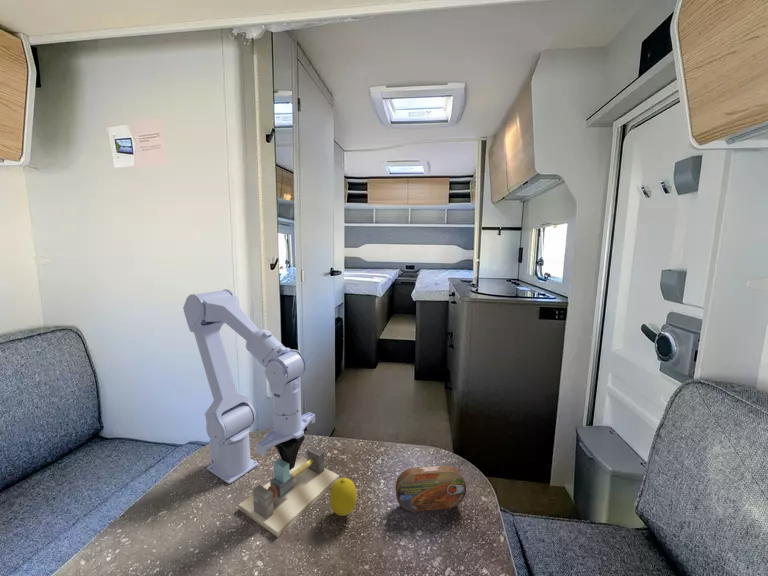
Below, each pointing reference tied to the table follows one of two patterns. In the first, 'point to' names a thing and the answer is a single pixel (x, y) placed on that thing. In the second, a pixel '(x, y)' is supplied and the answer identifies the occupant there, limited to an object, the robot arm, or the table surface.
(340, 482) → the lemon
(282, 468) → the sleeve
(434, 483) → the tin
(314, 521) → the table surface
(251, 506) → the rod and block board
